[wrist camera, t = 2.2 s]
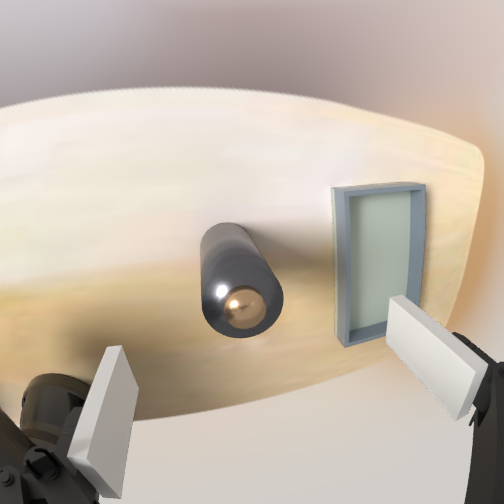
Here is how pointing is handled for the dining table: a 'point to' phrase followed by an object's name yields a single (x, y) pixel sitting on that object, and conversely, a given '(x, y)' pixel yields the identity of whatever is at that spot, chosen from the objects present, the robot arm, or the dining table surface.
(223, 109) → the dining table surface
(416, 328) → the robot arm
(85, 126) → the dining table surface
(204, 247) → the cell
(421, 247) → the trough
